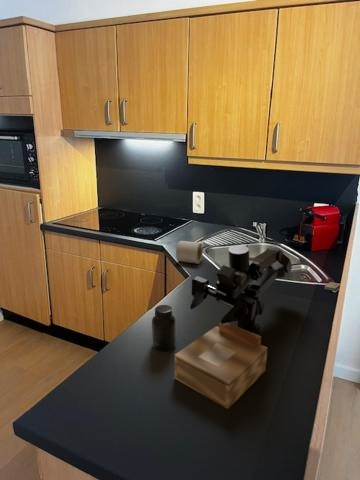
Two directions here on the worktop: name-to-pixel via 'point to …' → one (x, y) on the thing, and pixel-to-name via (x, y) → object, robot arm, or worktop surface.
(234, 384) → the mailer box
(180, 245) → the toilet paper
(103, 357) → the worktop surface
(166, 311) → the supplement bottle
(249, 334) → the mailer lid
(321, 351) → the worktop surface
